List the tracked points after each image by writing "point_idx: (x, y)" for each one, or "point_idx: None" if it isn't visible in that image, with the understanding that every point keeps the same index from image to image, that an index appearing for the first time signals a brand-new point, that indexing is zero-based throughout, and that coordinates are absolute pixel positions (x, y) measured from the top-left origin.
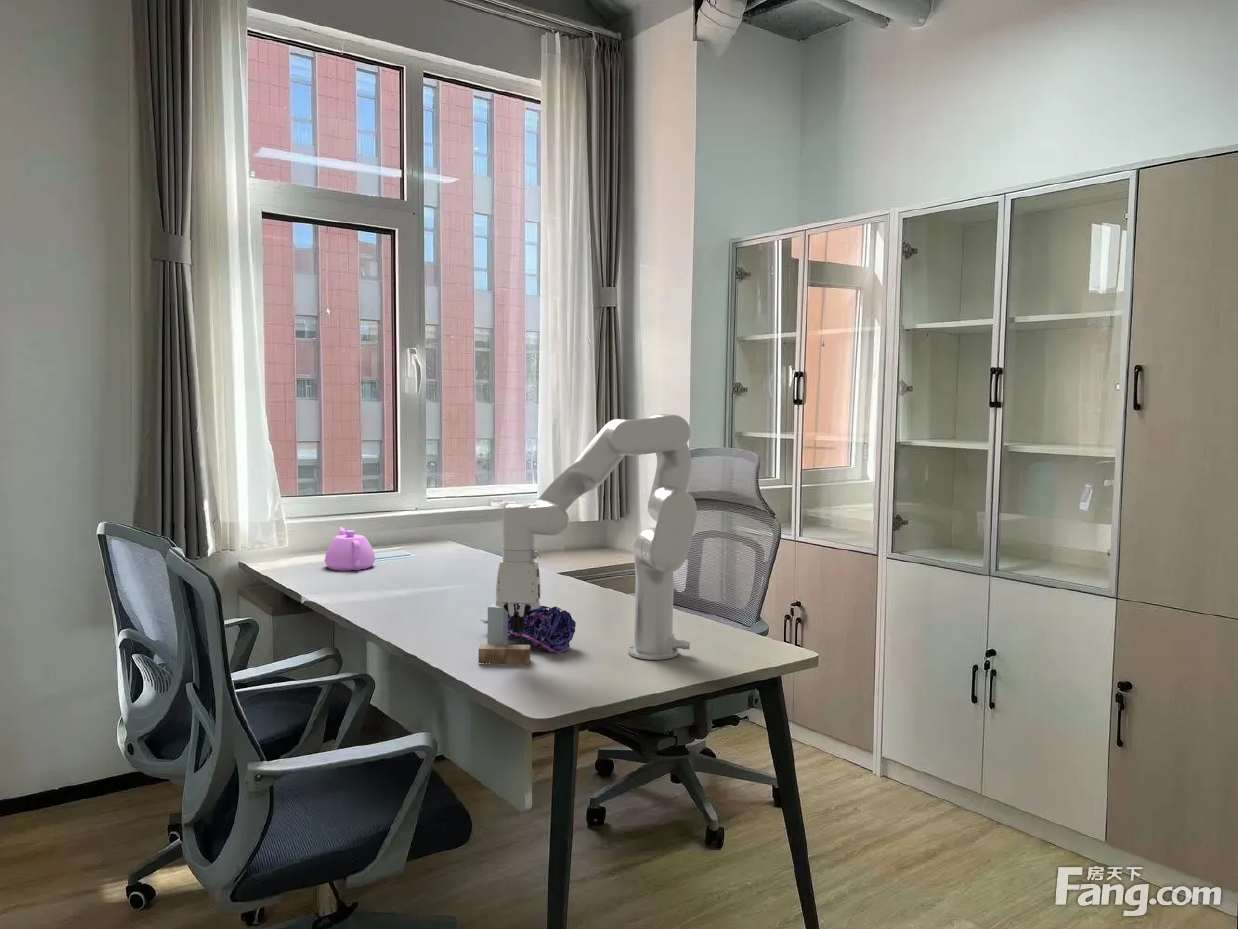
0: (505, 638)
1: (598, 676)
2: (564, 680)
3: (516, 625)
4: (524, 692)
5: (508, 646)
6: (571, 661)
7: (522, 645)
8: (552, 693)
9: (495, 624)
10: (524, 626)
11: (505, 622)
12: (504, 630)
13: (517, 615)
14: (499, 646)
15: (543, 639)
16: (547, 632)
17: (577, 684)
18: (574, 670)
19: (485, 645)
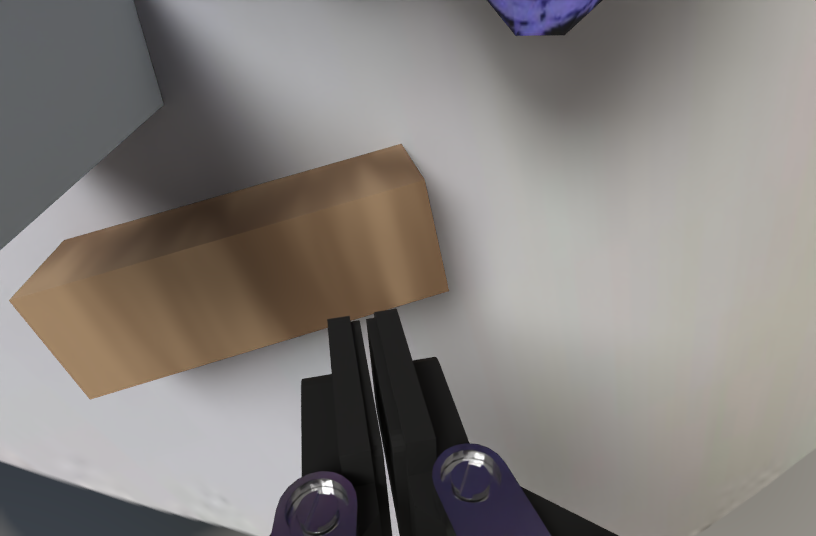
0: (95, 44)
1: (773, 291)
2: (630, 382)
3: (386, 462)
4: None
5: (272, 277)
6: (665, 89)
7: (368, 216)
8: (594, 496)
9: None
10: (436, 358)
11: (8, 85)
12: (72, 109)
13: (383, 494)
14: (202, 299)
15: (515, 24)
16: (585, 3)
17: (679, 401)
18: (675, 248)
19: (75, 315)
